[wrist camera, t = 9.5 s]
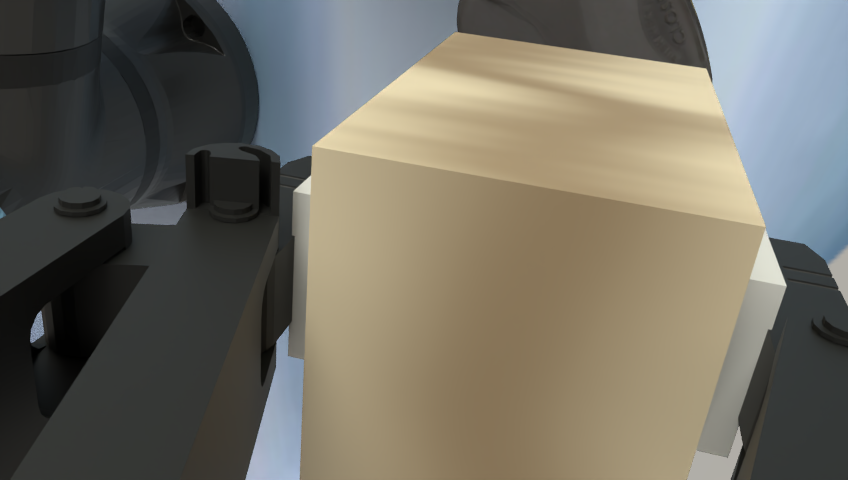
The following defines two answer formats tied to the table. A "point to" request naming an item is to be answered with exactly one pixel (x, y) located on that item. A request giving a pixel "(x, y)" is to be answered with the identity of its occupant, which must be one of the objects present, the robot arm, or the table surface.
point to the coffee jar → (594, 26)
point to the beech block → (523, 269)
